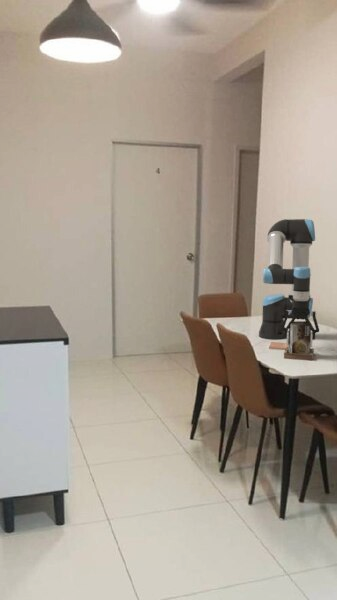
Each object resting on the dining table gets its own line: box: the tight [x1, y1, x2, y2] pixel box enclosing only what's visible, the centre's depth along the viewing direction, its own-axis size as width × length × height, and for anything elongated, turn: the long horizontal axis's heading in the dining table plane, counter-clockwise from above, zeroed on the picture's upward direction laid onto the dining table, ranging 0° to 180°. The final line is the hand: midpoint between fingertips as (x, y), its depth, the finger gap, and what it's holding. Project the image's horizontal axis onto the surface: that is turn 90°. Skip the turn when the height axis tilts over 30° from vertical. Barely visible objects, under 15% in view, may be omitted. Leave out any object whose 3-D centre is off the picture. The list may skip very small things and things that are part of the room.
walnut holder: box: [283, 347, 315, 361], centre depth 248 cm, size 13×13×2 cm
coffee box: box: [288, 320, 312, 355], centre depth 247 cm, size 9×6×16 cm
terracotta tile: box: [268, 341, 289, 351], centre depth 265 cm, size 11×11×1 cm
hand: (299, 345), depth 247 cm, fingers closed on coffee box, 10 cm apart
